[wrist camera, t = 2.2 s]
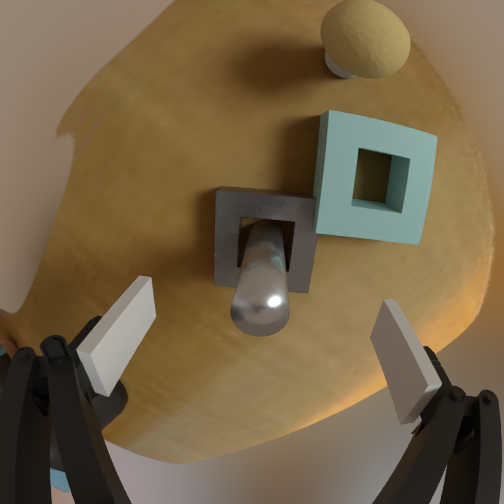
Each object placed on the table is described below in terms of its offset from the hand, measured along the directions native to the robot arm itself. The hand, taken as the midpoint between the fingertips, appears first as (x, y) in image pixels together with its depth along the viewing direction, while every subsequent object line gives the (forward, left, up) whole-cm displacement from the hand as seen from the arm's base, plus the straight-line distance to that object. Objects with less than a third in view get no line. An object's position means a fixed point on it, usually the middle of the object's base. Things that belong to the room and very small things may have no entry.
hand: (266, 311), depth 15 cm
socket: (+9, +7, -13) cm, 17 cm away
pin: (0, 0, -13) cm, 13 cm away
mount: (0, 0, -13) cm, 13 cm away
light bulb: (+6, +18, -13) cm, 23 cm away
